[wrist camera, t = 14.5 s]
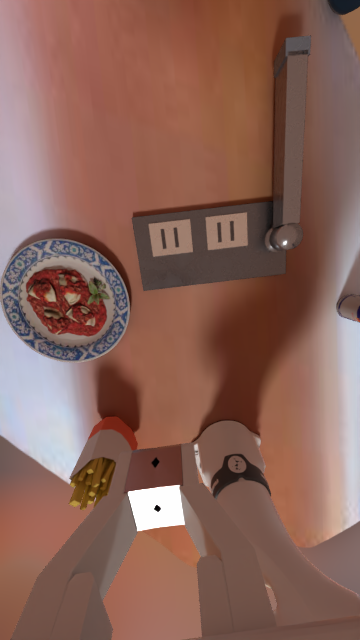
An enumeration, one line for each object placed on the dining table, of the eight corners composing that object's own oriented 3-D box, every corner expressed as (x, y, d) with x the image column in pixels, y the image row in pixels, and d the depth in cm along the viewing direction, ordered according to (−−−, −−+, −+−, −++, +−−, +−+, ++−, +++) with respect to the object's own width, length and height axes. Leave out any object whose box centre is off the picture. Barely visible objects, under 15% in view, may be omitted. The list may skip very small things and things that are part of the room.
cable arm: (269, 251, 40) (278, 250, 36) (271, 61, 32) (283, 38, 29) (291, 249, 40) (302, 247, 36) (298, 59, 32) (313, 35, 29)
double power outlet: (285, 273, 44) (291, 273, 41) (144, 290, 43) (142, 291, 41) (287, 200, 40) (293, 197, 38) (132, 218, 40) (130, 216, 37)
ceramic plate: (30, 364, 47) (21, 371, 44) (-11, 248, 40) (-25, 246, 37) (141, 350, 47) (139, 356, 44) (118, 232, 40) (114, 229, 37)
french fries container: (110, 408, 51) (78, 483, 33) (140, 434, 53) (125, 517, 36) (97, 419, 51) (59, 498, 34) (127, 444, 54) (106, 529, 36)
